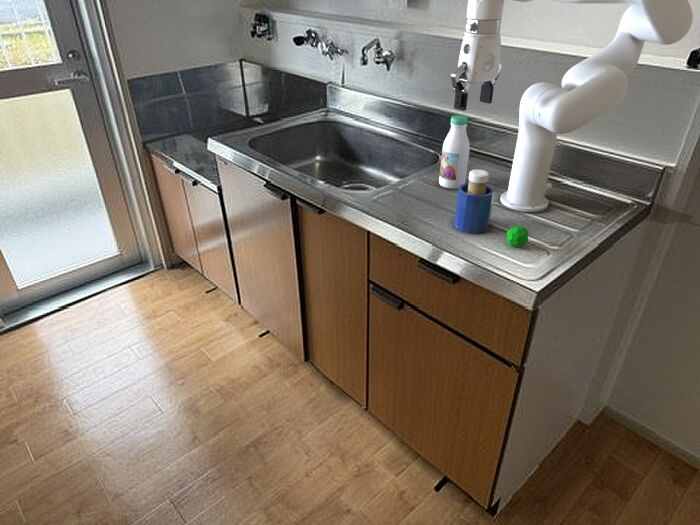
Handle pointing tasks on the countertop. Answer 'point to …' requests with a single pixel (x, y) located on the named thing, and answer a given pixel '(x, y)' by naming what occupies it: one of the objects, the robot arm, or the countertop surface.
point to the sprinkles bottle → (477, 182)
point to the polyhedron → (517, 236)
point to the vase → (473, 210)
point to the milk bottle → (455, 154)
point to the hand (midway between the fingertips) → (472, 105)
